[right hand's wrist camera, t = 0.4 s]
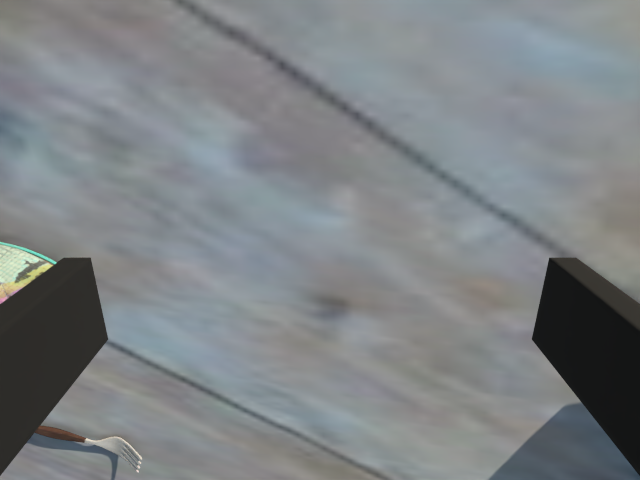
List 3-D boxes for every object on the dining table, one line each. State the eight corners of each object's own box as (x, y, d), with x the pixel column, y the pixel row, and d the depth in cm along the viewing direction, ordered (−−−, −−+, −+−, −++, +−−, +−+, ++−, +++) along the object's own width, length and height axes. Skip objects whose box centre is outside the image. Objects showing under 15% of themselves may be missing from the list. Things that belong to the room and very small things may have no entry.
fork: (6, 408, 47) (-7, 422, 46) (148, 443, 49) (142, 458, 47) (4, 425, 48) (-8, 439, 47) (144, 459, 50) (138, 474, 48)
